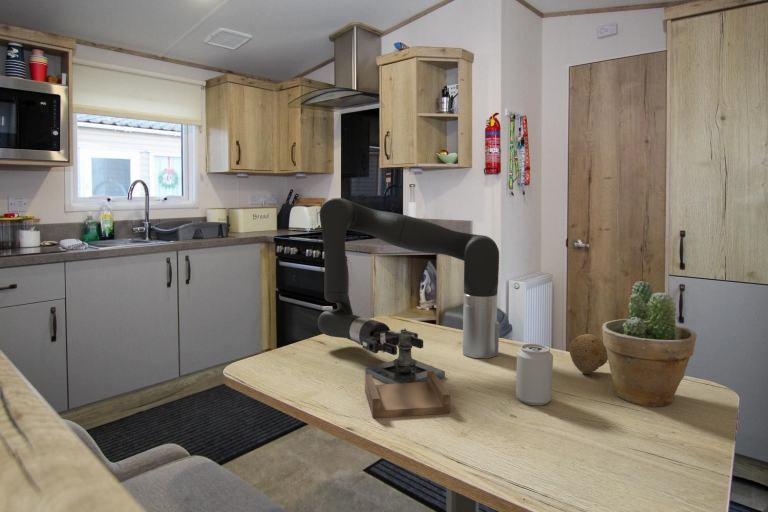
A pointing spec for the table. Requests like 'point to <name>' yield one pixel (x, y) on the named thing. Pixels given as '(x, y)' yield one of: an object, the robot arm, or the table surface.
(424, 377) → the socket frame
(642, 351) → the potted plant
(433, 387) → the brown piece
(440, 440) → the table surface
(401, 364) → the salt shaker
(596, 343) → the natural sponge
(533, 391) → the can
